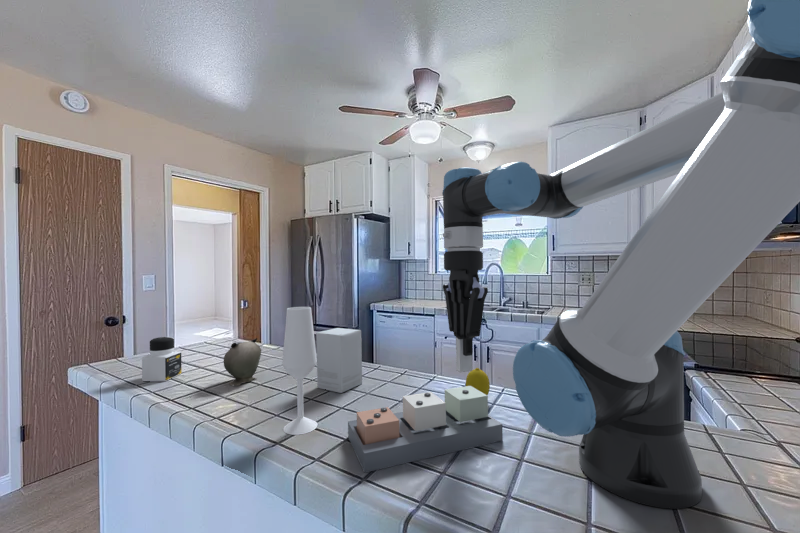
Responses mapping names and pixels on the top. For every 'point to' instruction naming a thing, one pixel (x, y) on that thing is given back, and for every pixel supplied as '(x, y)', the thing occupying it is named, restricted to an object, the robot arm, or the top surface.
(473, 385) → the lemon
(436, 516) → the top surface
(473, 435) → the console
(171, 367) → the medicine bottle
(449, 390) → the tile one
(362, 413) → the tile three
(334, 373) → the supplement box
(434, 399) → the tile two
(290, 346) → the champagne flute
